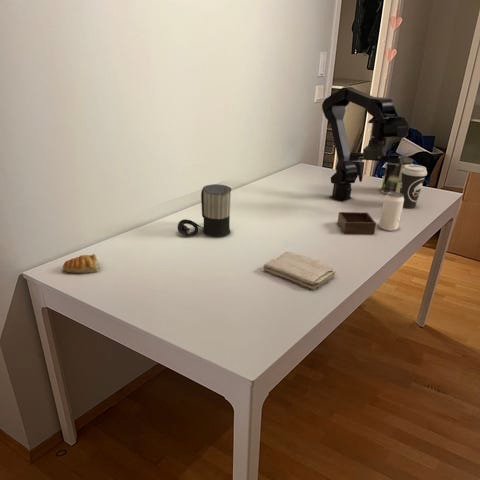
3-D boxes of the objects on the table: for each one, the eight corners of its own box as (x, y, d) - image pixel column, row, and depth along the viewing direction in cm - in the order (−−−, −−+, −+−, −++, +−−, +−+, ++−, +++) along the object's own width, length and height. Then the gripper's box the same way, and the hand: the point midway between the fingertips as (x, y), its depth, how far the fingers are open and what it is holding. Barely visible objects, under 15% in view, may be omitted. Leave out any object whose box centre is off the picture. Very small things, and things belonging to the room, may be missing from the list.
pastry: (63, 276, 128) (61, 263, 126) (63, 265, 133) (61, 253, 131) (99, 272, 131) (98, 259, 129) (98, 262, 136) (96, 249, 134)
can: (387, 232, 163) (394, 198, 157) (374, 225, 168) (381, 192, 161) (401, 229, 166) (409, 195, 159) (388, 223, 170) (395, 190, 164)
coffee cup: (416, 202, 192) (425, 164, 183) (421, 210, 183) (431, 171, 175) (392, 201, 192) (400, 163, 184) (396, 208, 184) (404, 169, 176)
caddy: (337, 222, 169) (338, 212, 167) (365, 223, 170) (367, 212, 168) (343, 233, 160) (345, 222, 158) (374, 234, 161) (376, 223, 159)
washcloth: (315, 291, 125) (316, 281, 124) (261, 271, 135) (261, 261, 133) (337, 276, 133) (338, 266, 132) (284, 258, 142) (285, 248, 141)
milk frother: (236, 232, 158) (237, 188, 150) (201, 245, 148) (201, 199, 140) (206, 221, 166) (206, 179, 158) (172, 233, 156) (170, 188, 148)
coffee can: (382, 195, 198) (389, 160, 191) (379, 187, 207) (386, 154, 199) (407, 196, 197) (415, 162, 190) (403, 189, 206) (411, 156, 198)
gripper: (345, 135, 166) (340, 181, 172) (398, 138, 157) (391, 186, 163) (357, 136, 175) (351, 180, 181) (408, 138, 166) (400, 184, 171)
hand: (372, 182), depth 174 cm, fingers open, 9 cm apart
